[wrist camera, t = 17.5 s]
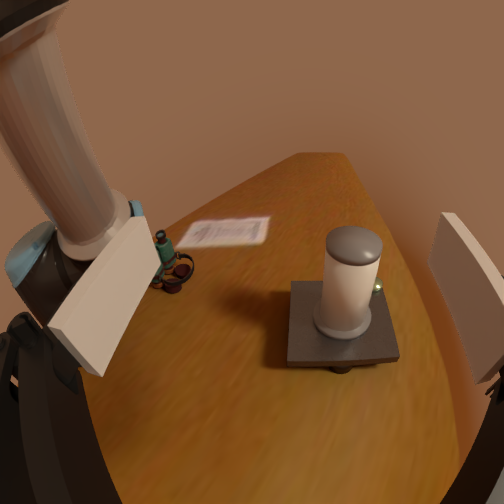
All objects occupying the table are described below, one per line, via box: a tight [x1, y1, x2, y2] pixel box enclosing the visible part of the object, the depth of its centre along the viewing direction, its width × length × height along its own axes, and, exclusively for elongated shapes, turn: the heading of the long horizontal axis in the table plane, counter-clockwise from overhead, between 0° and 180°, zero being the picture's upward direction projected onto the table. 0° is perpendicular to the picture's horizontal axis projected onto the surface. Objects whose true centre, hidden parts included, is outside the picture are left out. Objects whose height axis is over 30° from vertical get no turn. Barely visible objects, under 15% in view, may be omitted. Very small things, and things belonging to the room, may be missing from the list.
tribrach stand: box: [287, 277, 400, 374], centre depth 40 cm, size 16×16×5 cm
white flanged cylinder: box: [313, 226, 383, 340], centre depth 35 cm, size 9×9×14 cm
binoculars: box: [151, 230, 194, 293], centre depth 54 cm, size 9×11×10 cm
